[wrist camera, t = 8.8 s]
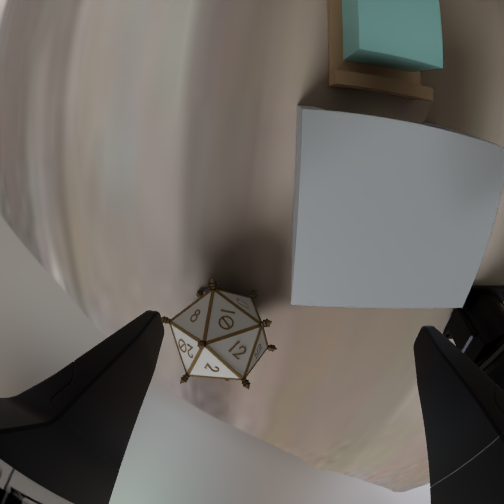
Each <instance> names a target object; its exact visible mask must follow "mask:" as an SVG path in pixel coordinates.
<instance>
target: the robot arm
mask: <svg viewBox="0 0 504 504" xmlns="http://www.w3.org/2000/svg"><path fill="white" fill-rule="evenodd" d="M503 301H504V286H472V287H471V289H470V291H469V294H468V296H467V298H466V300H465V303H464V305H463V307H462V308H455V309H454V311H453V314H452V316H451V318H450V320H449V322H448V324H447V326H446V328H445V330H444V332H443V334H442V333H441V332H440V331H438V330H437V329H436V328H435V327H434V326H423V327H422V328H421V330H420V332H419V334H418V336H417V338H416V340H415V343H414V356H415V365H416V375H417V385H418V391H419V396H420V402H421V408H422V414H423V420H424V427H425V434H426V442H427V451H428V461H429V473H430V487H431V488H430V491H431V504H504V303H503ZM163 336H164V327H163V323H162V319H161V316H160V313H159V312H157V311H150V310H148V311H146V312H144V313H143V314H141V315H140V316H139V317H137V318H136V319H134V320H133V321H131V322H130V323H128V324H127V325H125V326H124V327H122V328H121V329H120V330H118V331H117V332H115V333H114V334H112V335H111V336H109V337H108V338H107V339H105V340H104V341H102V342H101V343H99V344H98V345H97V346H95V347H93V348H92V349H91V350H89V351H88V352H86V353H85V354H83V355H82V356H81V357H79V358H78V359H76V360H75V361H74V362H72V363H70V364H69V365H67V366H66V367H65V368H63V369H62V370H60V371H59V372H57V373H56V374H54V375H52V376H51V377H49V378H47V379H45V380H44V381H42V382H40V383H39V384H37V385H35V386H33V387H32V388H30V389H28V390H26V391H24V392H23V393H21V394H19V395H17V396H14V397H9V398H0V504H109V501H110V497H111V494H112V491H113V488H114V484H115V482H116V478H117V475H118V472H119V469H120V466H121V462H122V460H123V457H124V454H125V451H126V448H127V445H128V442H129V439H130V436H131V433H132V431H133V428H134V425H135V422H136V419H137V417H138V414H139V411H140V408H141V406H142V403H143V400H144V397H145V395H146V392H147V390H148V387H149V384H150V382H151V379H152V376H153V373H154V370H155V367H156V363H157V359H158V355H159V351H160V348H161V344H162V340H163ZM449 339H453V340H454V342H455V344H456V346H455V345H454V344H453V343H452V342H451V341H450V340H449Z"/></svg>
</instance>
